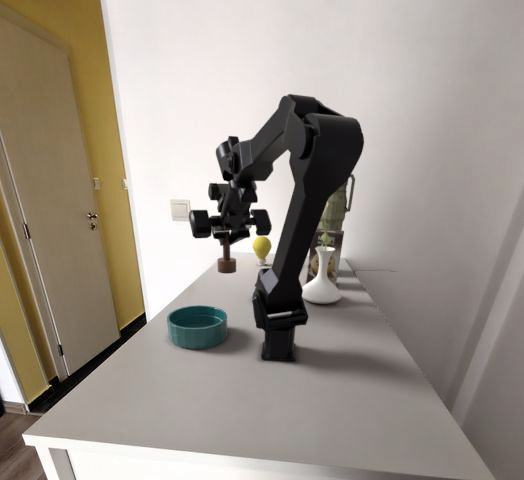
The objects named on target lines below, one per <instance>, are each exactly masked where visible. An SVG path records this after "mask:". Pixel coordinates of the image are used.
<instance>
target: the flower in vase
mask: <svg viewBox="0 0 524 480" xmlns="http://www.w3.org/2000/svg"><path fill="white" fill-rule="evenodd" d="M328 204H329V203H328V202H327V204H326V207H325V209H324V212H323V215H324V213H325V212H326V210H327V207H328ZM323 215H322V217H321V220H320V222H321V221H322V223H323V225H324V228H325V233H324V234H323V235H322V237H321V239H322V240H323V244H322V245H321V247H316V250H317V252H318V256H319V270H318V274H317V276H316V278H315V279H313V280H312V281H310V282H309V283H307V284H306V283H305V284H304V285H303V286H302V289H303V293H302V298H303V300H304V301H307V302H309V303H314V304H323V305H324V304H332V303H336V302H338V301H339V300H340V299H341V298H342V293H341V291H340V289H339V288H338V287H337V285H336V286H335V285H334V284H333V283H332V282H331V281H330V280H329V279H328V277H327V267H328V263H329V259H330V257H331V255H332V253H333V252H334V251H335V249H334V248H332V247H327V244H328V243H330V242H331V239H330V238H329V236H328V234H327V230H326V226H325V223H324V221H323ZM324 243H325V244H326V245H325V247H323V245H324Z"/></svg>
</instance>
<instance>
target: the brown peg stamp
mask: <svg viewBox="0 0 524 480" xmlns="http://www.w3.org/2000/svg"><path fill="white" fill-rule="evenodd" d="M230 233H231V230H230V231H225V235H226V240H225V242H224V244H223V245H222V257H219V258H217V259H216V260H217V261H216V262H217V272H218V273H220V274H227V275H228V274H234V273H236V272H237V259H236V258H235V257H231V245H230Z"/></svg>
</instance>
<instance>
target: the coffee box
mask: <svg viewBox="0 0 524 480" xmlns="http://www.w3.org/2000/svg"><path fill="white" fill-rule="evenodd" d="M326 230H327V234H328V236H329V238H330V239H331V242H330V243H328V244H327V247H332V248H334V249H335V251H334V252H333V253H332V255H331V257H330V259H329V263H328V267H327V277H328V279H329V280H330V281H331V282H332V283H333V284H334V285H335V286H336V287H337V281H338V273H339V268H340V261H341V255H342V249H343V241H344V236H345V230H342V231H340V230H328V229H326ZM324 233H325V229H317V231H316V233H315V236H314V239H313V241H312V244H311V247H310V249H309V252H308V262H307V270H306V272H307V273H306V280H305V285H306V284H307V283H309V282H310V281H312V280H313V279H315V278H316V276H317V274H318V270H319V256H318V252H317V250H316V247H321V245H322V244H323V240H322V239H321V237H322V235H323V234H324ZM325 245H326V244H325V243H324V245H323V247H325Z"/></svg>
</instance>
